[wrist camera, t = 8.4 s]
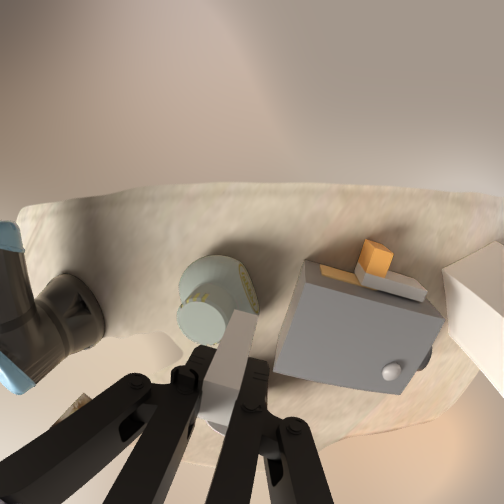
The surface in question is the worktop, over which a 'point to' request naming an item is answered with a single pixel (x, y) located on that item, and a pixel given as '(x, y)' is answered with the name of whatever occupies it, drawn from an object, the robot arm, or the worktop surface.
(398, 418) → the worktop surface
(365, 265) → the door
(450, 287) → the milk
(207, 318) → the air freshener
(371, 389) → the grey box with knob
